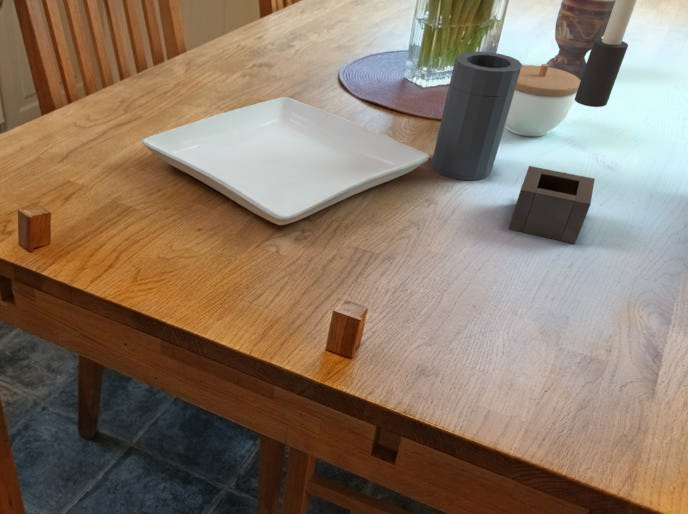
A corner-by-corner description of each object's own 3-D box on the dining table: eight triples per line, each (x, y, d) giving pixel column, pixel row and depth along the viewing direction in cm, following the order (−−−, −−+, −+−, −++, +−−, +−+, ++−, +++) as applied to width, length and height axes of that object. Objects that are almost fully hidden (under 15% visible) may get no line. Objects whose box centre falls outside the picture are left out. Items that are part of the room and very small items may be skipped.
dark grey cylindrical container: (495, 163, 99) (525, 57, 90) (485, 185, 93) (516, 75, 85) (438, 151, 101) (462, 48, 93) (425, 172, 96) (450, 64, 87)
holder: (580, 216, 87) (595, 178, 84) (575, 244, 82) (590, 204, 79) (517, 203, 90) (529, 165, 86) (508, 229, 84) (520, 189, 81)
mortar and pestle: (546, 58, 136) (583, -62, 124) (595, 66, 133) (638, -57, 121) (537, 75, 128) (576, -51, 116) (589, 84, 125) (634, -45, 113)
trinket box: (488, 137, 106) (506, 72, 100) (489, 112, 114) (505, 50, 108) (566, 147, 104) (589, 81, 98) (560, 120, 112) (581, 58, 106)
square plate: (138, 164, 96) (137, 136, 94) (283, 118, 110) (285, 92, 108) (279, 245, 81) (282, 214, 78) (428, 179, 94) (435, 151, 92)
